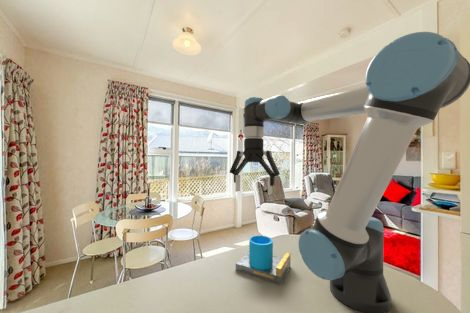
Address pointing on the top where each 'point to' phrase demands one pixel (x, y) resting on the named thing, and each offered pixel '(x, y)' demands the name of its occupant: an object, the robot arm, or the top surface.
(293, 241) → the top surface
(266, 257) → the mug
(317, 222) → the robot arm
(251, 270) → the ledge
